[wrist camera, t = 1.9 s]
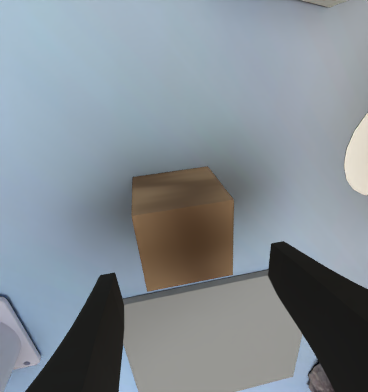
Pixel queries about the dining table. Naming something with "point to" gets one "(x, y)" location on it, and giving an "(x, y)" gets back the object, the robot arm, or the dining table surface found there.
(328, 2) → the supplement box
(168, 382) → the grey mat
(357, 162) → the wineglass
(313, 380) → the dark grey rock
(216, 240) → the walnut cube
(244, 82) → the dining table surface
